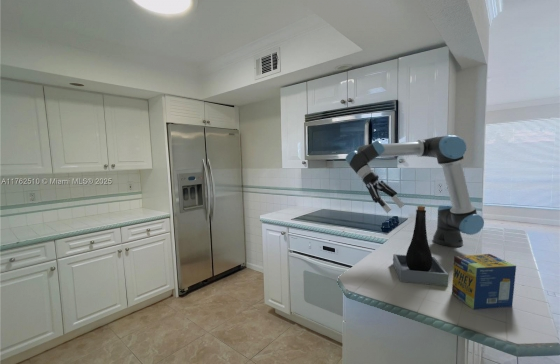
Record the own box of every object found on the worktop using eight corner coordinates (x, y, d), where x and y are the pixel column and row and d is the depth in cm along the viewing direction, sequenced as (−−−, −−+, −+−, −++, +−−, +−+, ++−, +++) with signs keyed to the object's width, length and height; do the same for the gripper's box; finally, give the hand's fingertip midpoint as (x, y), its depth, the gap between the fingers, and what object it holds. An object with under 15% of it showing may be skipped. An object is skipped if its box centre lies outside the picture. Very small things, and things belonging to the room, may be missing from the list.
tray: (433, 267, 124) (434, 257, 123) (447, 286, 106) (448, 274, 106) (393, 263, 128) (393, 254, 127) (400, 281, 111) (400, 270, 110)
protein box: (450, 293, 101) (453, 255, 99) (487, 291, 102) (490, 253, 100) (473, 310, 90) (476, 267, 89) (513, 307, 92) (517, 265, 90)
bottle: (429, 268, 120) (432, 205, 117) (434, 278, 110) (437, 210, 107) (404, 265, 124) (406, 203, 120) (406, 275, 114) (409, 208, 111)
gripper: (375, 178, 144) (401, 209, 134) (349, 182, 127) (377, 218, 118) (384, 169, 139) (412, 200, 130) (359, 172, 123) (389, 208, 113)
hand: (396, 208), depth 124 cm, fingers open, 13 cm apart
